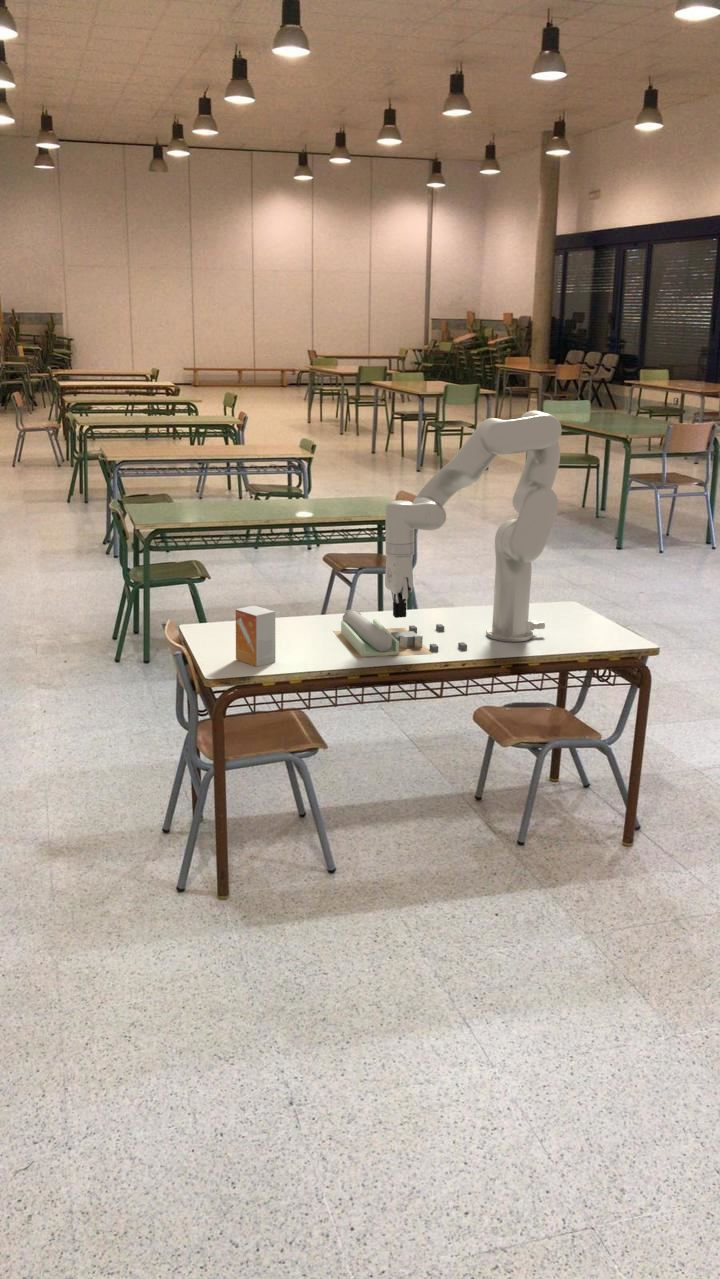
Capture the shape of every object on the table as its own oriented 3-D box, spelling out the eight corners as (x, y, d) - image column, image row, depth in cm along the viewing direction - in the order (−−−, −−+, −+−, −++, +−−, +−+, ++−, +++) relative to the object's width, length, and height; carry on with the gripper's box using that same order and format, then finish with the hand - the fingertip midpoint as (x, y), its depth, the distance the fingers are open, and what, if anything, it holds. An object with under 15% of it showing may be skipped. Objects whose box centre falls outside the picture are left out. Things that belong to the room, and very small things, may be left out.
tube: (398, 637, 269) (363, 611, 291) (380, 632, 267) (345, 607, 289) (391, 657, 270) (356, 630, 292) (372, 652, 267) (339, 625, 290)
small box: (235, 660, 268) (234, 608, 264) (255, 655, 272) (254, 604, 269) (256, 667, 262) (256, 615, 259) (276, 662, 267) (276, 611, 263)
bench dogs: (420, 645, 279) (420, 634, 278) (422, 647, 278) (422, 636, 277) (398, 646, 278) (398, 635, 277) (399, 648, 276) (400, 637, 275)
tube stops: (441, 633, 296) (441, 624, 295) (466, 654, 277) (467, 645, 276) (408, 634, 293) (409, 625, 293) (432, 656, 274) (432, 646, 274)
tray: (375, 631, 291) (376, 619, 291) (398, 654, 271) (399, 641, 270) (341, 632, 289) (341, 620, 288) (361, 656, 269) (361, 643, 268)
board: (404, 631, 296) (404, 627, 295) (433, 658, 273) (433, 653, 272) (333, 635, 291) (333, 631, 291) (355, 662, 268) (356, 658, 267)
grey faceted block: (412, 640, 284) (413, 631, 283) (418, 645, 279) (418, 636, 278) (390, 641, 282) (391, 632, 282) (395, 646, 278) (396, 637, 277)
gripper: (377, 544, 288) (377, 610, 294) (394, 555, 275) (394, 625, 280) (404, 542, 290) (404, 608, 296) (422, 553, 277) (422, 622, 282)
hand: (399, 616), depth 288 cm, fingers closed
